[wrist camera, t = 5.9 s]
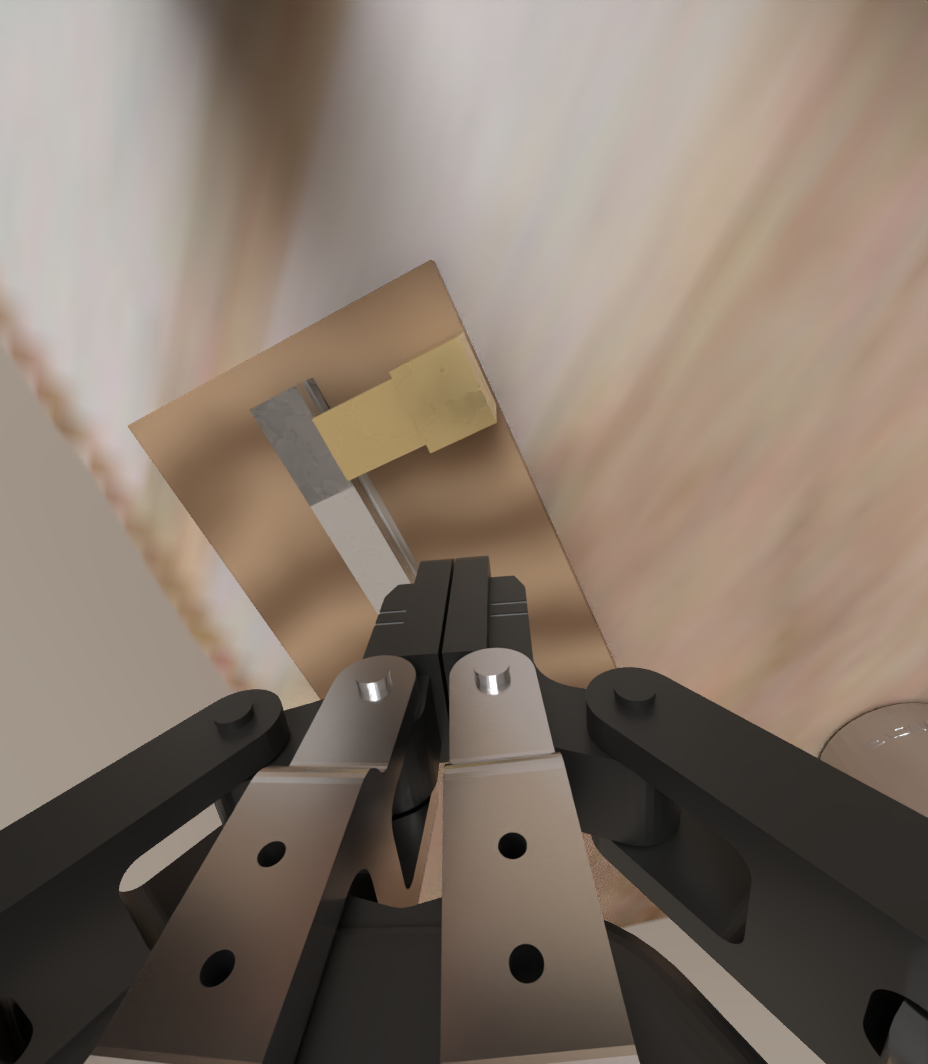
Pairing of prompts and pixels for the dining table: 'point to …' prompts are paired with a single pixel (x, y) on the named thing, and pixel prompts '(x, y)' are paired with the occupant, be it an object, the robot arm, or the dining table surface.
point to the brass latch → (410, 409)
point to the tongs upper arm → (333, 494)
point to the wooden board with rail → (394, 489)
